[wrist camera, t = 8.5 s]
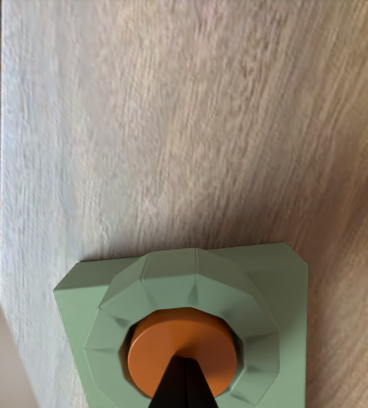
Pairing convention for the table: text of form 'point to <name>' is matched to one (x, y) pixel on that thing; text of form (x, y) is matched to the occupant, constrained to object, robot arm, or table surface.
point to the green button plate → (200, 299)
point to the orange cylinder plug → (182, 347)
